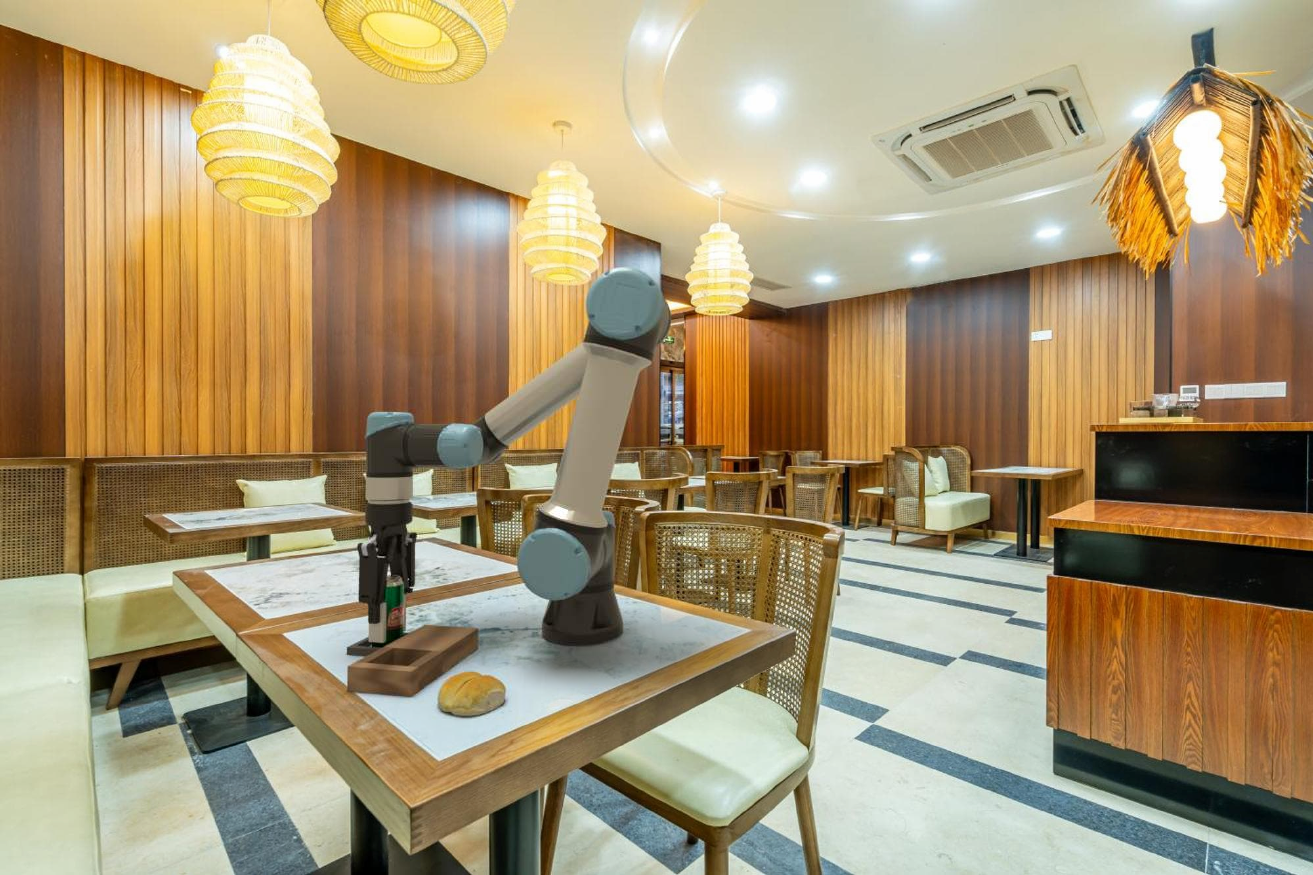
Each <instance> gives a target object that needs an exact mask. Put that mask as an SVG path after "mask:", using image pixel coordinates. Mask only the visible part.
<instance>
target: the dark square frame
mask: <svg viewBox="0 0 1313 875" xmlns="http://www.w3.org/2000/svg"><path fill="white" fill-rule="evenodd" d="M409 633H410V632H406V631H405V632H404V636H405V635H407V634H409ZM379 649H381V648H379V647H372V642H369V636H368V637H365V638H363V639H360V640H359V641H357V642H354V643H353V644H351V645H348V646H346V655H349V656H362V657H366V656H368V655H370V654H371V653H373V652H375V651H377V650H379Z"/></svg>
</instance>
